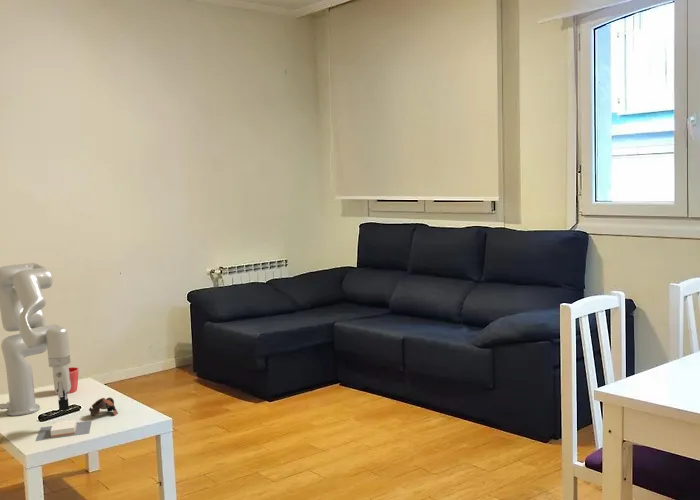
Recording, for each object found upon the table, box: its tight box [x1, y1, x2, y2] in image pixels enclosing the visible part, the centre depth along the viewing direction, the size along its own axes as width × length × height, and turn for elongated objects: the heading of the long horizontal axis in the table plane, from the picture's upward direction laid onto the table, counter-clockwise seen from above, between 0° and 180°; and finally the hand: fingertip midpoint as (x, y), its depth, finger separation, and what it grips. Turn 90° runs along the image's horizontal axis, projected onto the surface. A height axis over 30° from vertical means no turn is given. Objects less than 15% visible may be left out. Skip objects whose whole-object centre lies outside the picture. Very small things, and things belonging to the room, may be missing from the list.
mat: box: [35, 420, 92, 442], centre depth 272 cm, size 18×16×1 cm
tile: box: [51, 419, 78, 437], centre depth 270 cm, size 8×2×10 cm
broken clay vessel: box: [88, 397, 119, 417], centre depth 289 cm, size 12×10×8 cm
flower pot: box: [67, 366, 79, 395], centre depth 329 cm, size 11×11×10 cm
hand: (64, 409), depth 275 cm, fingers closed
